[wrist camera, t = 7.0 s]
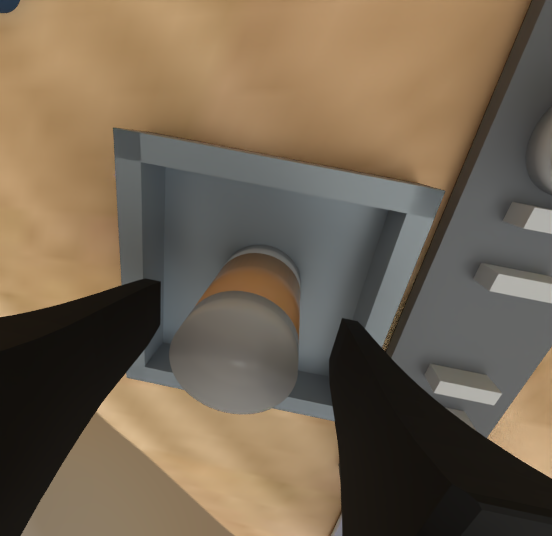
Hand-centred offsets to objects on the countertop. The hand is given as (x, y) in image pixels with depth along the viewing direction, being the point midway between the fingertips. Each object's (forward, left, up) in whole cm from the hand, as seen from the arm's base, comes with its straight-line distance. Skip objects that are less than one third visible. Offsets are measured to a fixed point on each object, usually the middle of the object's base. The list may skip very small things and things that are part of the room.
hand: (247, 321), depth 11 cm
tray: (0, 0, -4) cm, 4 cm away
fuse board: (0, -11, -4) cm, 12 cm away
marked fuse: (0, 0, -3) cm, 3 cm away
